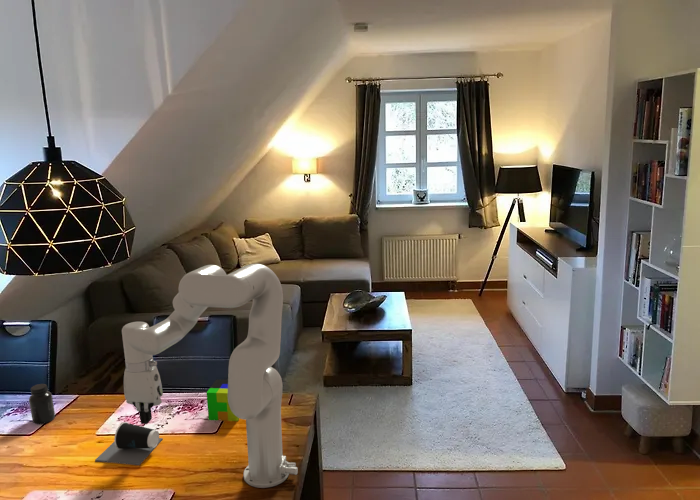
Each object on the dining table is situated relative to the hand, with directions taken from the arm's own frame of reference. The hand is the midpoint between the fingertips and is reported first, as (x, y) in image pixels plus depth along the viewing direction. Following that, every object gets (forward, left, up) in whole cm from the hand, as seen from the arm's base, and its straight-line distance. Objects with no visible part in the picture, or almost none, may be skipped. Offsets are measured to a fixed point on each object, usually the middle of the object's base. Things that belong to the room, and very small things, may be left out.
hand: (146, 421), depth 173 cm
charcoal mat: (+6, 0, -10) cm, 12 cm away
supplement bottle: (+45, -13, -10) cm, 48 cm away
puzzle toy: (-15, -26, -10) cm, 32 cm away
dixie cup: (-2, 0, -6) cm, 6 cm away
